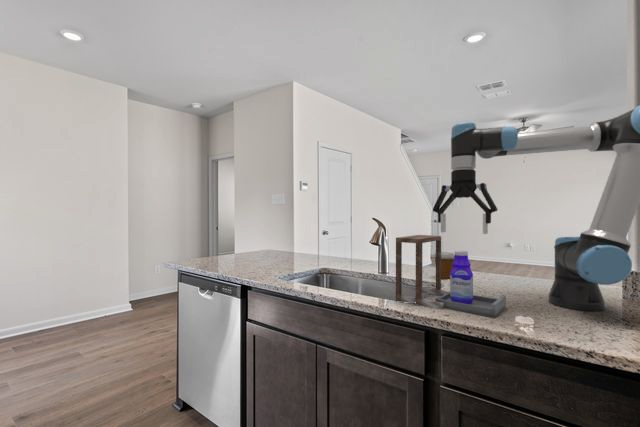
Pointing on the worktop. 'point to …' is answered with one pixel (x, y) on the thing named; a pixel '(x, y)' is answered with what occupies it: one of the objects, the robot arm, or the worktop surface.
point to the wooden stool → (419, 271)
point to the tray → (476, 305)
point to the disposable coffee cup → (446, 264)
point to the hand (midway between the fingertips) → (463, 233)
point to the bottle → (461, 279)
